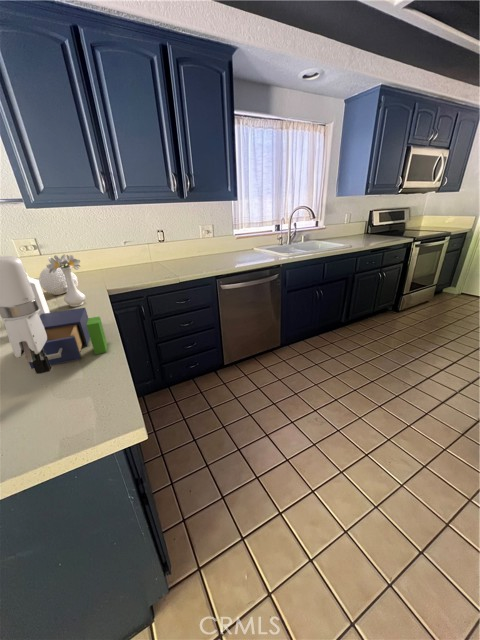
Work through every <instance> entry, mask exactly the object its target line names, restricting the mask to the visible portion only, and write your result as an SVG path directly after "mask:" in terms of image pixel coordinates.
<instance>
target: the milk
mask: <svg viewBox="0 0 480 640" xmlns="http://www.w3.org/2000/svg"><path fill="white" fill-rule="evenodd" d="M26 274H27V277H28V280H29V282H30V285H31V288H32V291H33V293H34V296H35V299H36V301H37V304H38V307H39V310H40V311H39V312H38V315H39V316H40V315H41V314H44V313H51V312H50V308H49V305H48V303H47V300H46V298H45V295H44V291H43V288H42V287H41V285H40V283H39V279H37V278H35V277H34V278H33V277H30V276H29V274H28V273H27V272H26Z"/></svg>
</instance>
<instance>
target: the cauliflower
mask: <svg viewBox="0 0 480 640" xmlns="http://www.w3.org/2000/svg"><path fill="white" fill-rule="evenodd" d="M49 270H50V269H48V268H47V267H45V268H43V269H42V271H40V274H39V276H38V280H39V283H40V286H41V289H42V290H43V291H45V292H46V293H49V294H51V295H54V296H57V295H58V296H59V295H63V294H66V293H67V291H68V287H67V282H66V279H65V276H64V273H63V272H62V270H61V269H60V268H57V270H56V271H55V272H54V273H53V270H52V272H51V273H49ZM71 274H72V278H73V281H74V284H75V286H76V288H77V287H78V285H79V281H78V277H77V276H76V274H75V273H73V272H72V271H71Z"/></svg>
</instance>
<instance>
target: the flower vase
mask: <svg viewBox="0 0 480 640" xmlns="http://www.w3.org/2000/svg"><path fill="white" fill-rule="evenodd" d="M48 262H49V263H47V264H46V268H48V269H50V270H49V273H51V272H52V270H53V273H54V272H55V271H56V270H57V268H60V269H61V270H62V272H63V273H64V276H65V279H66V282H67V287H68V291H67V292H66V293H65V295H64V297H63V301H64V302H65V303H66V304H67V305H69V306H70V307H73V308H75V307H81V306H82V305H84V302H85V301H86V299H87V298H86V295H85V294H84V293H83V292H82V291H81V290H79V289H78V288H77V287H76V286H75V284H74V281H73V278H72V274H71V272H72V269H74V270H77V271H80V267H81V265H80V263H81V260H80V259H77V258H75V257H74V256H73V254H69V255H68V254H62V255H61V256H59V255H58V254H57V255H55V254H54V255H53V257H50V256H48Z"/></svg>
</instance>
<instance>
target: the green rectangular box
mask: <svg viewBox="0 0 480 640" xmlns="http://www.w3.org/2000/svg"><path fill="white" fill-rule="evenodd" d="M87 329H88V332H89V335H90V338H89V340H90V342H91V345H92V348H93V352H94V355H100V354H106V353H107V351H108V350H107V349H108V341H107V338H106V334H105V330H104V327H103V323H102V319H101V316H94V317H93V316H92V317H88V322H87Z"/></svg>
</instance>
